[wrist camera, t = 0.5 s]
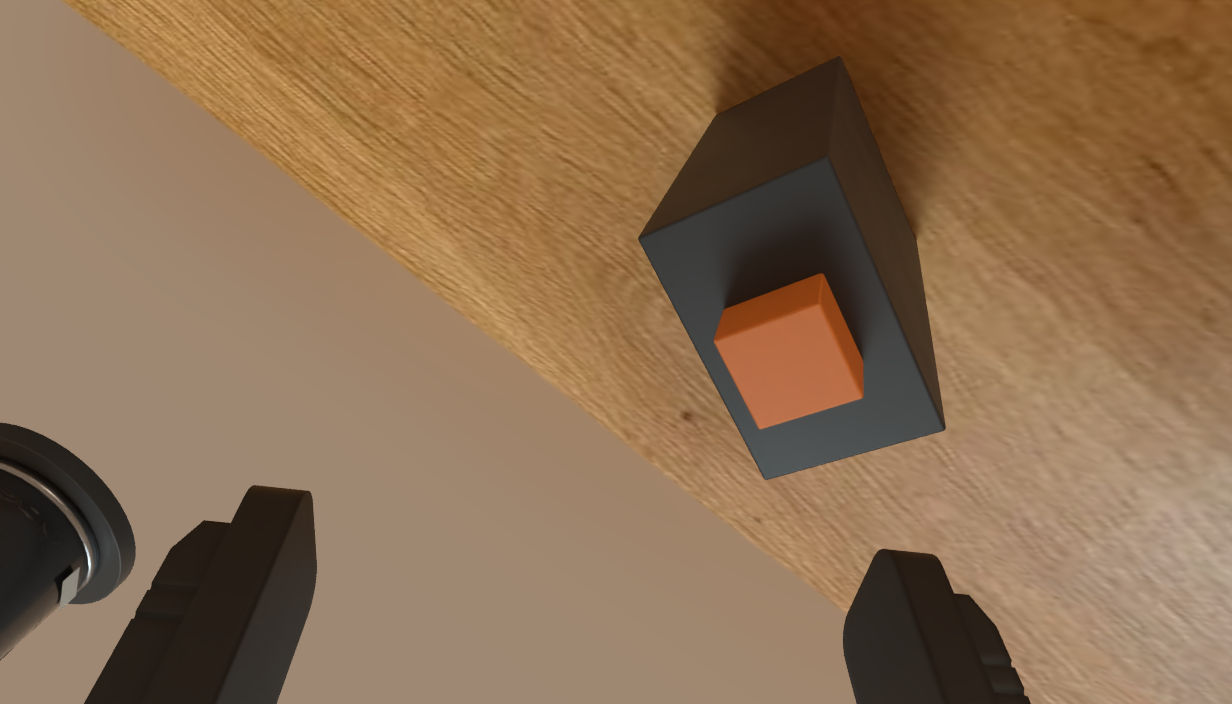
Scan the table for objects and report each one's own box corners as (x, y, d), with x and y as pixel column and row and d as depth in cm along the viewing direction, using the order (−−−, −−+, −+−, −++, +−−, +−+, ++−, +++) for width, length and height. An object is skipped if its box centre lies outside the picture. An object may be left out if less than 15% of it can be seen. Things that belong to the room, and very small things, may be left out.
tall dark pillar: (795, 289, 32) (758, 522, 20) (714, 115, 29) (618, 265, 18) (917, 243, 30) (953, 471, 18) (840, 54, 28) (825, 177, 16)
